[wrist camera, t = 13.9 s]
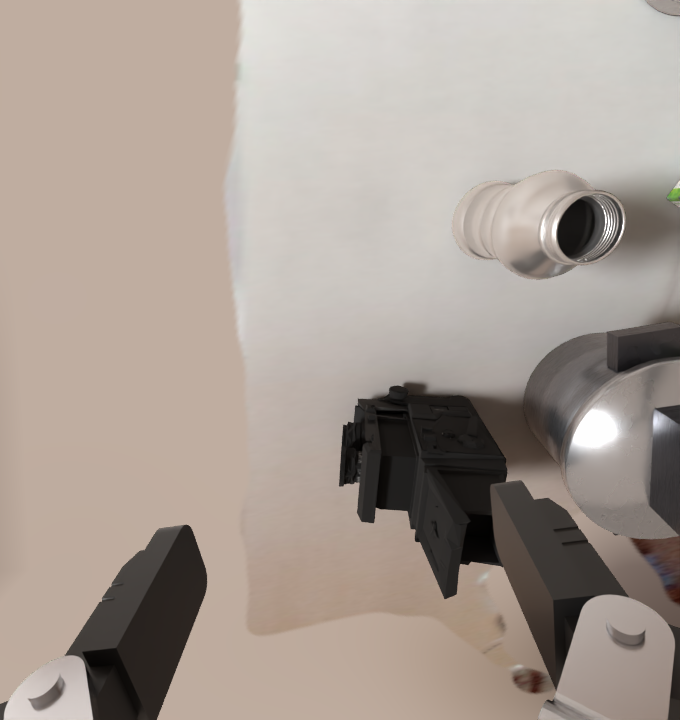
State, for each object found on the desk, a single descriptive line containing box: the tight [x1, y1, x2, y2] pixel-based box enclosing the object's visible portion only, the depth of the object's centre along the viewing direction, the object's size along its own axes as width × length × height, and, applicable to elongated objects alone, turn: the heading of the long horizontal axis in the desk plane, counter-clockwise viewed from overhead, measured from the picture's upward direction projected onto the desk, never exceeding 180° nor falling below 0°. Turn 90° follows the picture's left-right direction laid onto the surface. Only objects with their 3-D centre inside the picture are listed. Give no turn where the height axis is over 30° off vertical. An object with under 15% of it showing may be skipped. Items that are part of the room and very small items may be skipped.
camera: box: [339, 386, 507, 599], centre depth 39 cm, size 10×14×20 cm
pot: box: [524, 322, 680, 535], centre depth 41 cm, size 19×15×11 cm
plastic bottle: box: [452, 170, 626, 280], centre depth 32 cm, size 6×7×20 cm
